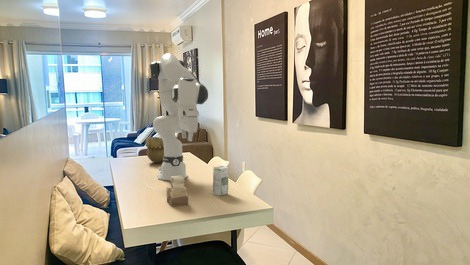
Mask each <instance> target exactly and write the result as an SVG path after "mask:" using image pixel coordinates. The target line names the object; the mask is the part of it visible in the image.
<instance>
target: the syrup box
mask: <svg viewBox="0 0 470 265" xmlns="http://www.w3.org/2000/svg"><path fill="white" fill-rule="evenodd" d="M212 171H213V174H212V175H213V177H212V178H213V179H212V181H213V182H212V194H213V195H216V196H219V197H222V196H225V195H228V194H229V167H228V166H225V165H218V166H214V167H213V170H212Z"/></svg>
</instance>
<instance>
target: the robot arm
mask: <svg viewBox="0 0 470 265" xmlns="http://www.w3.org/2000/svg"><path fill="white" fill-rule="evenodd" d="M147 70H148V75H149V77H150V79H152V80H155V81H156V80H158V94H159V101H160V107H161V108H162V109H164V110H165V111H167V113H168V115H160V116H157V117H154V120H152V128H153V130H154V131H155V133H157V134H158V136H159V137H160V138H162V140H163V144H164V156H163V163H161V165H160V166H159V167H158V172H157V174H156V175H157V179H158V180H159V181H162V180H163V181H171V177H172V176H182V177H184V179H186V178H189V175H188V174H187V169H186V164H185V163H184V162H183V161H184V155H183V143H182V141H181V140H179V139H178V138H176V134H180V133H181V137H182V139H187V141H188V142H193V137H194V133H197V131H198V124H199V117H200V112H199V110H198V108H197V106H198V105H204V104H205V103H206V101H208V100H209V91H208V88H207V87H206V86H205V85H204V84H202V83H201V81H200V80H199V79H198V77H196V76H195V74H194V73H193V72H191V71H190V70H189V69H187V66H186V65H185V62H184V61H183V60H181V59H178V58H177V56H176V55H174V54H173V53H165V54H163V55H162V56H161V58H160V61H153V62H150V63H149V64H148V68H147ZM176 83H177V84H176ZM187 132H188V133H187ZM187 134H188V135H187ZM187 136H188V137H187Z"/></svg>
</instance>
